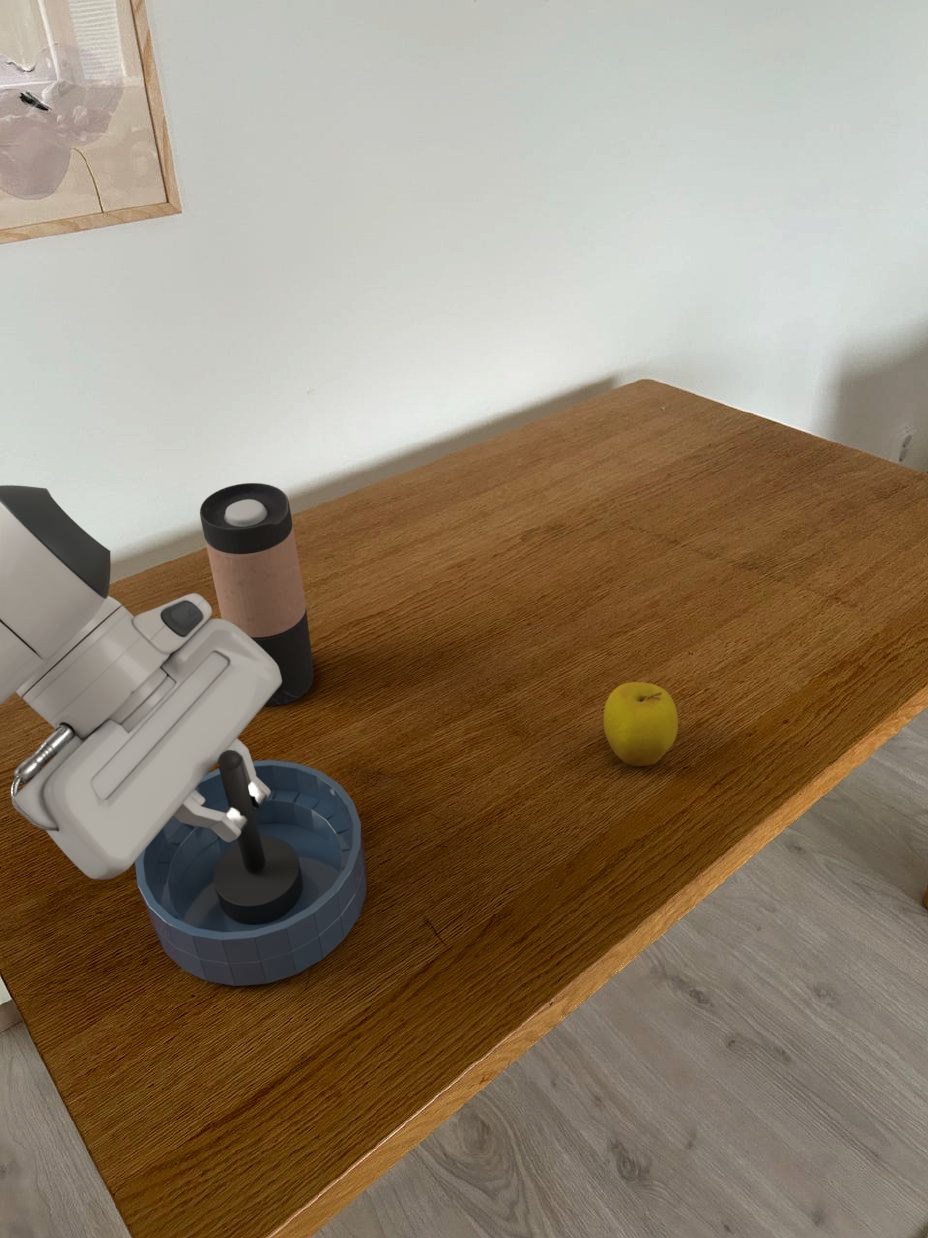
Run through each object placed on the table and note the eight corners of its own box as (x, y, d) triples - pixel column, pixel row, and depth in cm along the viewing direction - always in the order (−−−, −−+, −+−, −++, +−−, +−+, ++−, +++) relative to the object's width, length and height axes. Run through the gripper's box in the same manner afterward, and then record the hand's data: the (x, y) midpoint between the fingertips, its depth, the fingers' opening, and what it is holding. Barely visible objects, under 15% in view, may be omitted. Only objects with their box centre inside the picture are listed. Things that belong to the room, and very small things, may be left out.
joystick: (255, 941, 72) (219, 805, 62) (201, 893, 75) (159, 758, 66) (320, 884, 75) (295, 749, 66) (266, 842, 79) (235, 706, 69)
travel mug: (230, 666, 97) (191, 492, 84) (306, 647, 99) (279, 474, 86) (245, 717, 91) (205, 538, 79) (325, 696, 93) (299, 518, 81)
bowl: (248, 1037, 67) (232, 984, 63) (112, 906, 75) (90, 853, 71) (410, 884, 76) (406, 830, 72) (274, 783, 85) (262, 730, 81)
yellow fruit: (684, 774, 85) (696, 707, 80) (613, 786, 84) (621, 719, 79) (658, 723, 89) (667, 657, 85) (591, 734, 89) (596, 668, 84)
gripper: (11, 774, 57) (184, 927, 60) (211, 580, 72) (342, 711, 75) (-23, 803, 61) (140, 945, 64) (173, 614, 76) (299, 737, 79)
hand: (250, 817), depth 70 cm, fingers closed on joystick, 2 cm apart
